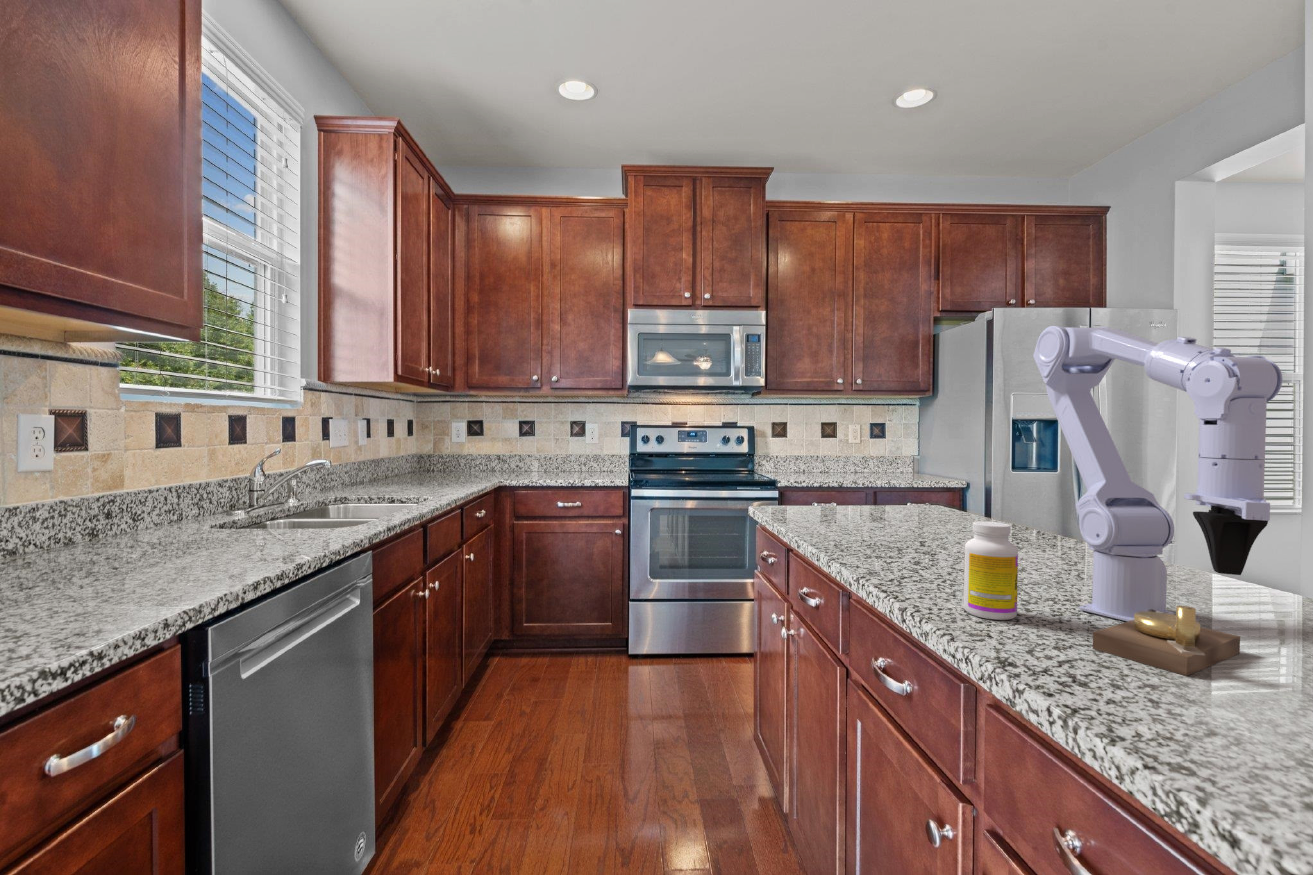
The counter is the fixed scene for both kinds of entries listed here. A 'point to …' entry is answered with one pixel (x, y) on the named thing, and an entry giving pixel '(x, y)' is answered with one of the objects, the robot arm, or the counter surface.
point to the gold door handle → (1170, 625)
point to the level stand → (1166, 648)
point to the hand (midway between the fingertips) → (1227, 573)
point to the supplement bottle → (991, 572)
